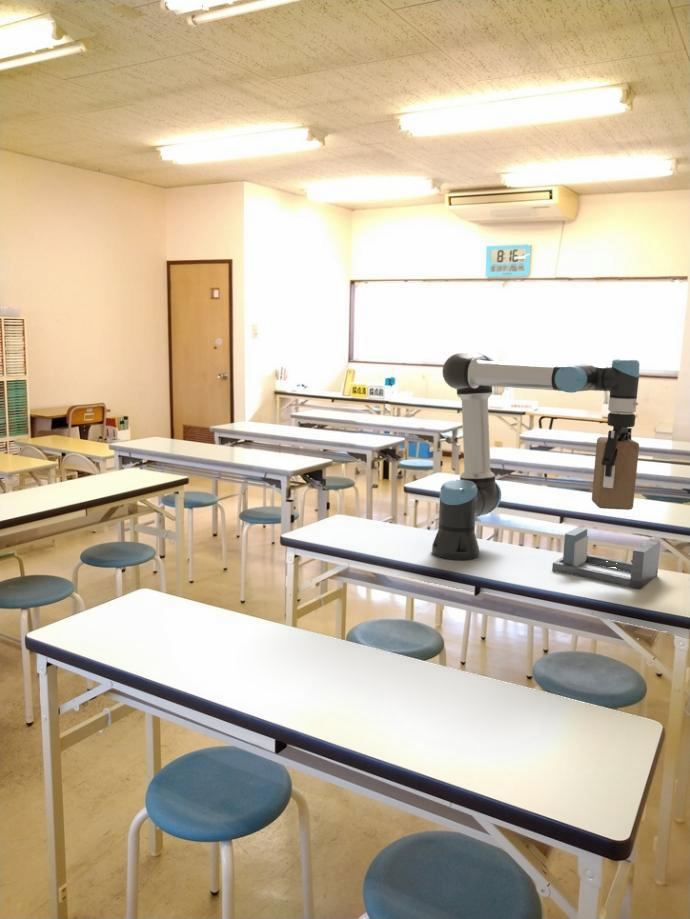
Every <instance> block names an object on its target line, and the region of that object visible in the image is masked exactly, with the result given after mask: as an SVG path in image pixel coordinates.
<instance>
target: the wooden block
mask: <svg viewBox="0 0 690 919" xmlns="http://www.w3.org/2000/svg"><path fill="white" fill-rule="evenodd" d="M607 439H608V436H607V437H606V436H605V437H604V436H600V437H598V438H597V439H596V447H595V457H594V458H595V459H594V468H593V479H592V493H591V501H592V502H593V503H594V504H595V505H596V506H597V508H599V509H604V510H605V509H606V510H607V509H608V510H626V511H630V510H633V508H634V500H635V494H636V492H635V491H636V484H637V482H636V480H637V473H638V472H637V470H638V462H639V450H640V444H639V442H637V441H635V440H633V439H632V438H631V439H632V440H631V439H628V440H626V439H625V440H624V441H617V444H616V448H615V449H617V448H618V451H617V457H616V460H615V463H614V465H613V466H615V473H614V484H613V488H606V487H603V480H604V468H605V465H602V464H601V463H602V460H603V456H604V452H605V448H606V444H607Z"/></svg>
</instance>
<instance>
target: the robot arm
mask: <svg viewBox="0 0 690 919" xmlns="http://www.w3.org/2000/svg"><path fill="white" fill-rule="evenodd" d="M442 377H443V379H444V381H445V383H446V384H447V386H448V387H450V388H452V389H455V390H456V395H457V398H459V399H460V400H461V409H462V410H461V413H462V414H461V416H462V440H463V441H462V442H463V445H462V446H463V470H464V471H463V472H462V473H461V474H460V475H459V479H456V480H448V481H446V482H444V483H443V484H441V487H440V491H439V492H440V493H439V506H438V507H439V511H438V529H437V532H436V535H435V538H434V540H433V542H432V546H431V547H432V548H431V553H432V554H433V555H435V556H436V557H439V558H442V559H445V560H446V559H447V560H453V561H461V560H462V561H468V560H473V559H476V558H478V557H479V555H480V547H479V543H478V540H477V535H476V533H475V532H476V531H475V530H476V518H478V517H481V516H484V515H488V514H490V513H492V512H493V511H494V510H495V509H497V508H498V506H499V505H500V502H501V500H502V490H501V487H500V485H499V484H498V483H497V482H496V474H495V473H494V472H492V470H491V453H490V425H489V423H490V422H489V421H490V420H489V398H490V396H492V395H493V387H496V388H497V387H501V388H517V389H528V390H529V389H531V390H542V391H543V390H545V391H558V392H565V393H571V394H572V393H577V392H587V391H589V392H590V391H595V392H597V391H598V392H609V397H608V398H609V399H608V407H607V410H608V413H607V421H606V424H607V426H609V427H613V429H612V430H608V434H607V437H608V439H607V444H606V448H605V452H604V456H603V460H602V463H601V464H602V465H605V468H604V480H603V487H606V488H613V484H614V473H615V466H613V465H614V463H615V460H616V457H617V451H618V448H617V449H615V448H616V444H617V441H624V440H625V439H626V440H628V439H631V440H633V439H632V428H634V426H635V424H636V415H635V413H636V411H637V406H639V402H638V401H637V400H638V390H639V381H640V361H638V360H637V359H620V358H619V359H618V358H615V359H613V360H612V363H611V365H597V364H586V363H584V364H582V363H581V364H557V363H556V364H553V363H534V362H533V363H532V362H515V361H513V362H512V361H510V362H509V361H494V360H493V359H492V358H491V357H490V356H489V355H487V354H484V353H480V352H472V353H469V352H466V353H462V352H461V353H460V352H459V353H455V354H452V355H451V356H449V357H448V358H447V359H446V360H445V362H444V364H443V365H442Z"/></svg>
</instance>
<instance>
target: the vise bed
mask: <svg viewBox="0 0 690 919" xmlns="http://www.w3.org/2000/svg"><path fill="white" fill-rule="evenodd" d="M661 542H662V540H661V539H655V538H649V539H647V540H646V541H644V542H643V543H642V544H640V545H638V546H637V547H636V548H634V549H632V559H631V561H630V562H629V561H625V560H624V561H623V560H621V559H620V560H619V559H614V558H609V557H604V556H600V555H594V554H590V553H587V559H586V561H585V563H584V564H589V565H594V566H599V567H603V566H604V568H608V567H616V568H617V569H616V570H618V569H620V570H619V571H623V570H625V571H624V572H627V571H629V573H630V576H626V575H621V574H617V573H612V572H608V571H607V572H606V571H603V570H598V569H593V568H588V567H583V566H574V565H570V564H565V563H563V557H560V558H559V559H557V560H556V561H554V562H552V567H551V568H552V569H551V571H553V572H558V573H562V574H567V575H571V576H576V577H580V578H585V579H588V580H589V579H590V580H593V581H600V582H602V583H603V582H604V583H608V584H611V585H617V586H621V587H625V588H629V589H634V590H635V589H636V590H639V591H641V590H643V588H645V587H646V586H647V585H648V584H650V583H651V582H652V581H653V580H654V579H655V578H656V577H657V576H658V572H659V562H660V561H659V560H660V553H661V551H660V550H661ZM606 561H608V562H606ZM616 563H617V564H616Z"/></svg>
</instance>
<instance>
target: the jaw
mask: <svg viewBox="0 0 690 919" xmlns="http://www.w3.org/2000/svg"><path fill="white" fill-rule="evenodd" d="M588 542H589V535H588V528H585V527H579V526H577V527H575V528H573V529H572V530H570V531H568V532H566V533H565V534H564V542H563V553H562V554H563V555H562V556H563V563H565V564H570V565H574V566H579V567H581V566H582V565H584V564H586V563H585V561H586V559H587V554H588V546H589V545H588V544H589V543H588Z"/></svg>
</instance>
